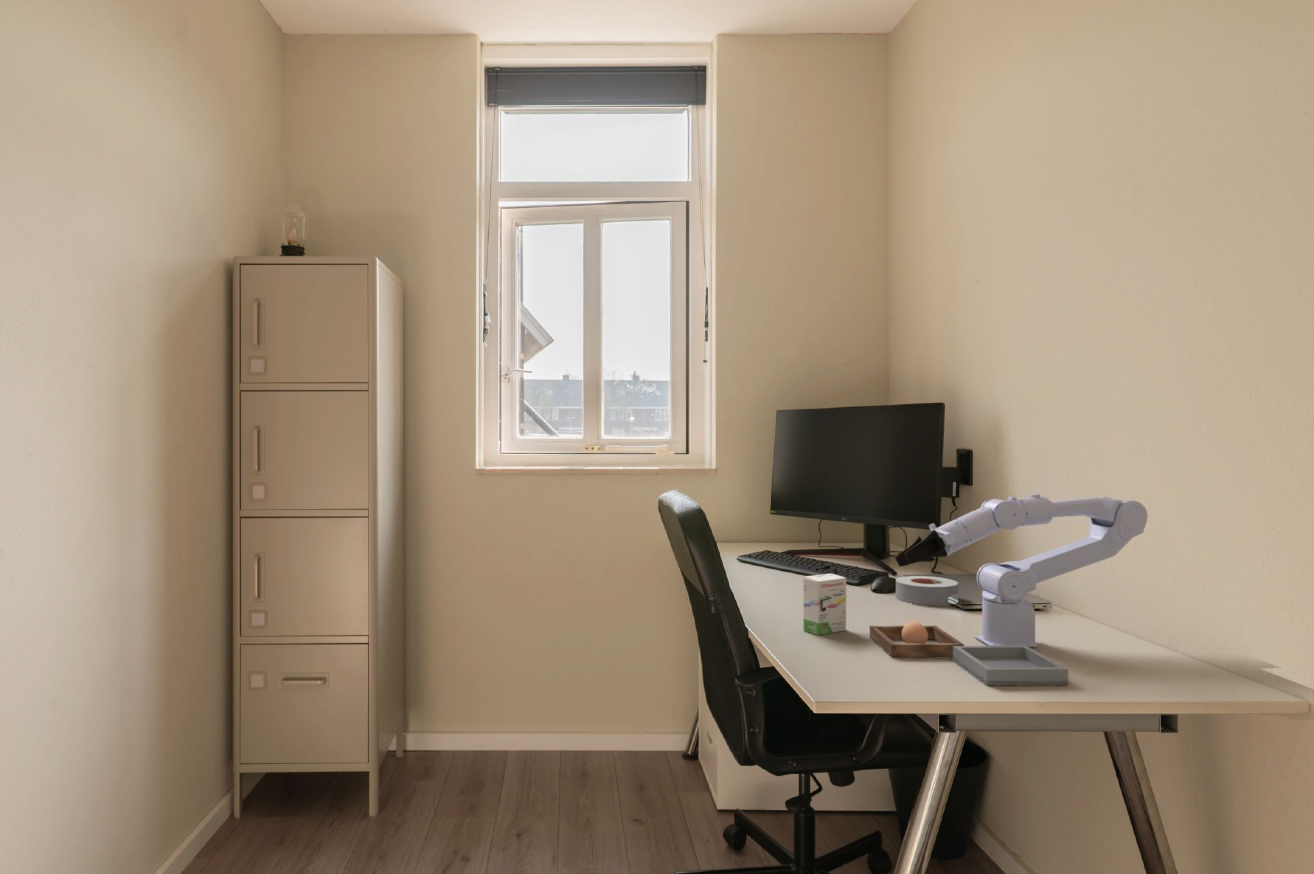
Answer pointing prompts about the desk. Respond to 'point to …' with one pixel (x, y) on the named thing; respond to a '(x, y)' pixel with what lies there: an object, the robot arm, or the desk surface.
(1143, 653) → the desk surface
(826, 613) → the ink box
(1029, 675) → the tray
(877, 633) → the square wooden frame
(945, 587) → the tape roll
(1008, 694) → the desk surface
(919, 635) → the ball
